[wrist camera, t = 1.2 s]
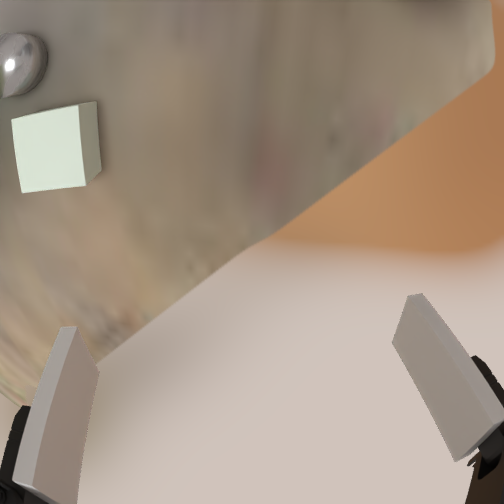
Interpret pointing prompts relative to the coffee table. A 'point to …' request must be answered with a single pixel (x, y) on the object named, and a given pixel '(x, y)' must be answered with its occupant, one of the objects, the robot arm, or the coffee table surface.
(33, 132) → the sage block
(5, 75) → the metal tin
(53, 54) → the coffee table surface
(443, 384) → the robot arm
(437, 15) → the coffee table surface
